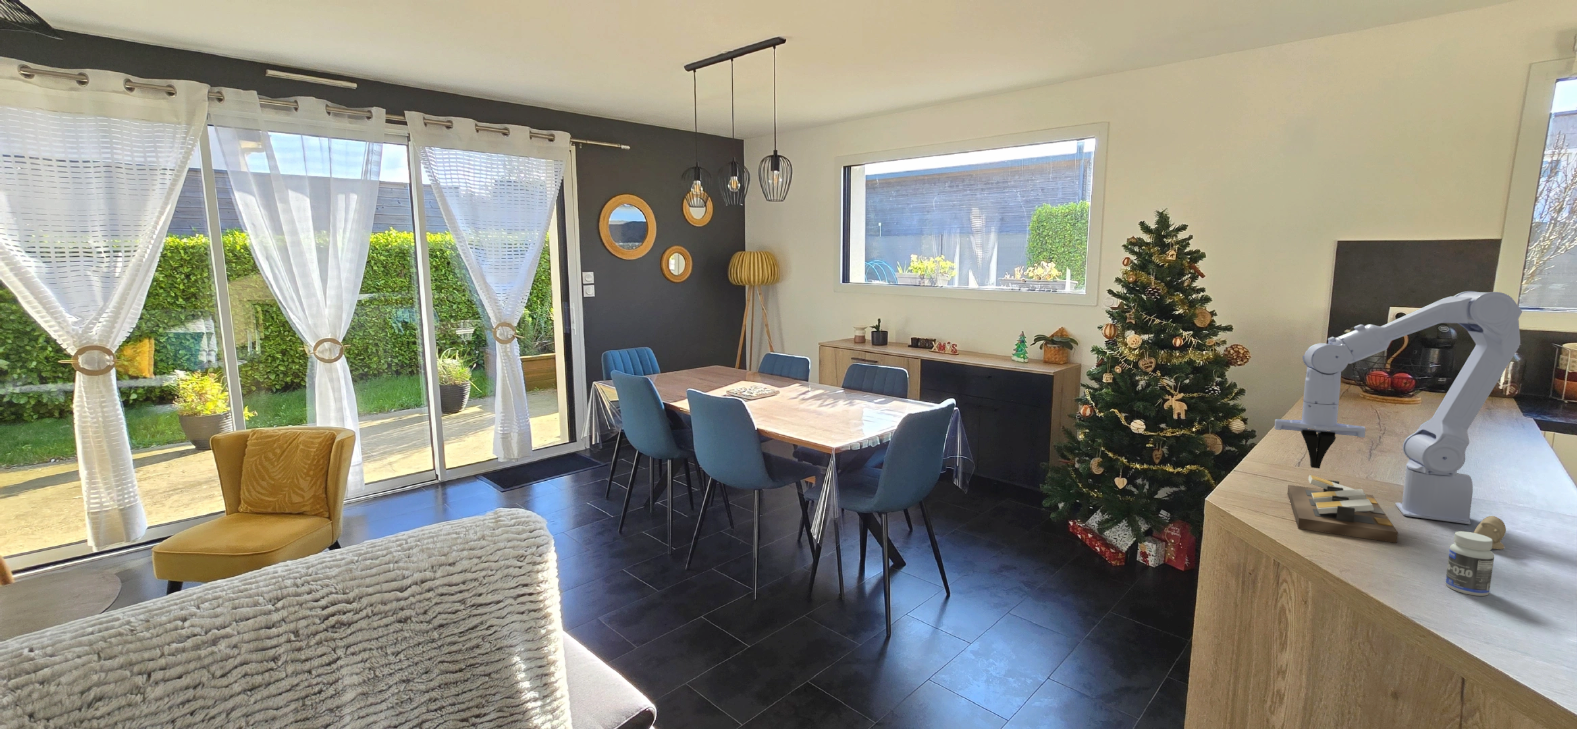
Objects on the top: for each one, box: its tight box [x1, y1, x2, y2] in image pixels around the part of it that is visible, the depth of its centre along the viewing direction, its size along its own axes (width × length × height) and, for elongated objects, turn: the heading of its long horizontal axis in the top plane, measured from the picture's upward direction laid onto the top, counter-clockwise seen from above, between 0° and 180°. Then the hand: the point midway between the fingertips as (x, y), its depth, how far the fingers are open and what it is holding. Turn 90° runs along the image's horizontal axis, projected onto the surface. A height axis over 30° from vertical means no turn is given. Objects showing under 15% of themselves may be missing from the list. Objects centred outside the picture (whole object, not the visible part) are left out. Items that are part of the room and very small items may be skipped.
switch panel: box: [1286, 479, 1399, 544], centre depth 133 cm, size 14×24×5 cm, turn 148°
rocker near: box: [1316, 499, 1374, 514], centre depth 127 cm, size 8×4×1 cm, turn 57°
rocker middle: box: [1311, 488, 1367, 503], centre depth 132 cm, size 8×4×1 cm, turn 58°
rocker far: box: [1308, 474, 1356, 490], centre depth 138 cm, size 8×4×1 cm, turn 58°
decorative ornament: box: [1472, 515, 1507, 551], centre depth 117 cm, size 4×8×5 cm, turn 128°
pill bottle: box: [1445, 530, 1495, 597], centre depth 101 cm, size 5×5×8 cm
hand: (1314, 466), depth 140 cm, fingers closed
